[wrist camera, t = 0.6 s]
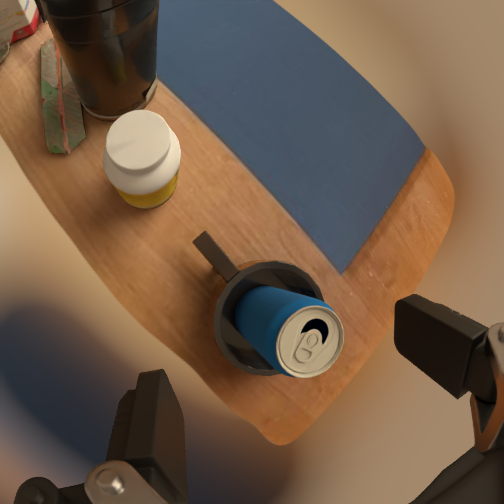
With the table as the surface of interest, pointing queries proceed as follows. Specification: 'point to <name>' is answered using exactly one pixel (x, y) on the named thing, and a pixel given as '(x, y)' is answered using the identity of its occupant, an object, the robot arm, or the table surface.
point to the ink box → (17, 19)
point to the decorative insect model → (4, 50)
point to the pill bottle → (142, 159)
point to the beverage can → (290, 330)
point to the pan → (229, 296)
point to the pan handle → (215, 256)
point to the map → (59, 102)
